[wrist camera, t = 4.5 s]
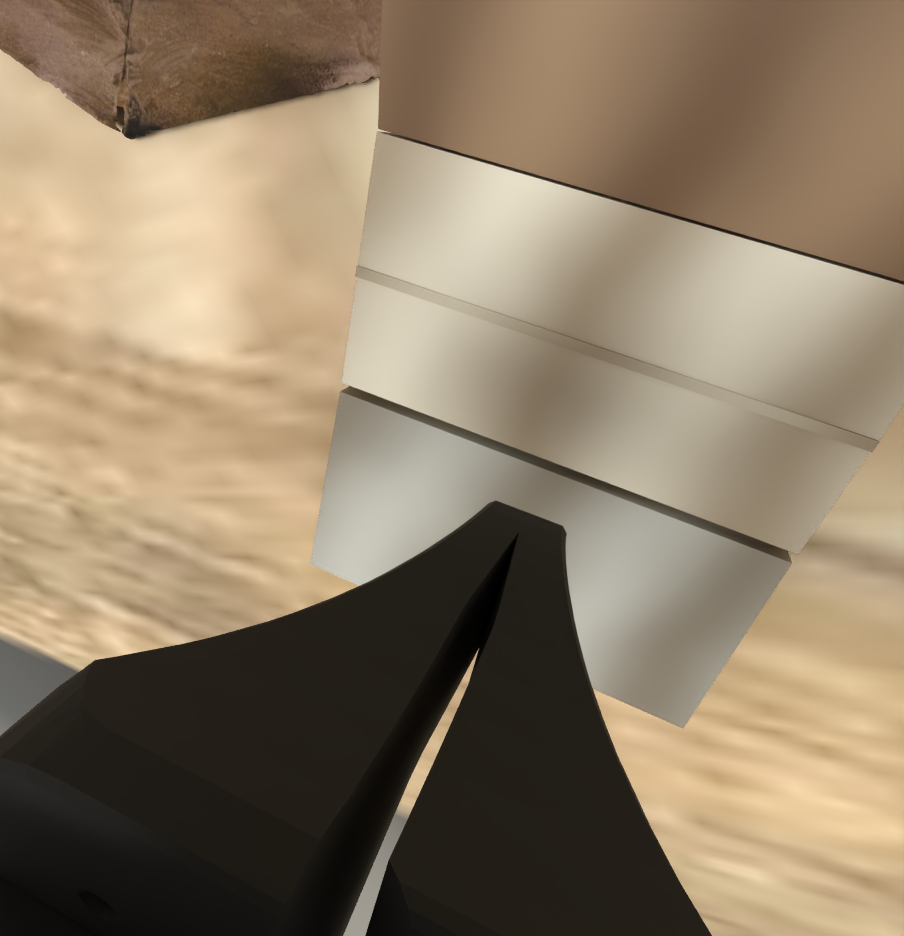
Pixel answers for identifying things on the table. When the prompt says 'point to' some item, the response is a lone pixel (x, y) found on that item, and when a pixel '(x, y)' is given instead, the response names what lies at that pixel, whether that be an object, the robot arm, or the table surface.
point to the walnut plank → (674, 107)
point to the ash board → (623, 339)
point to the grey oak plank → (587, 546)
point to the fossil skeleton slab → (190, 53)
